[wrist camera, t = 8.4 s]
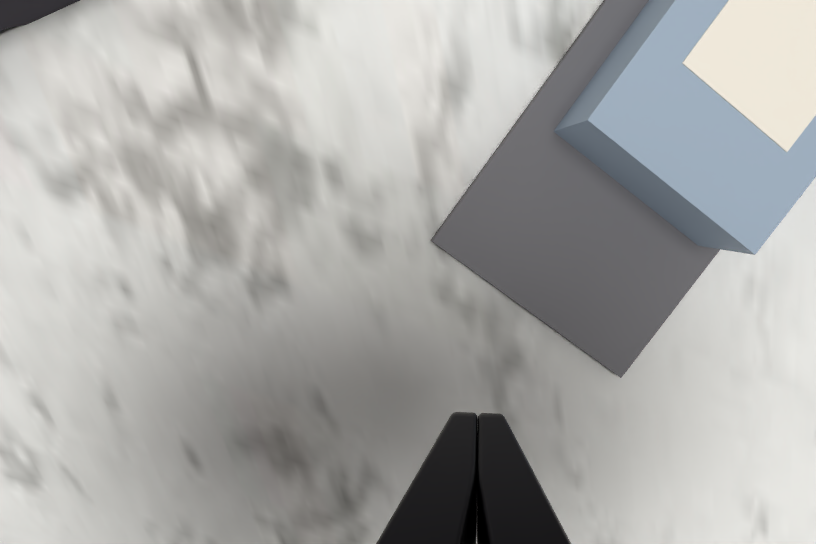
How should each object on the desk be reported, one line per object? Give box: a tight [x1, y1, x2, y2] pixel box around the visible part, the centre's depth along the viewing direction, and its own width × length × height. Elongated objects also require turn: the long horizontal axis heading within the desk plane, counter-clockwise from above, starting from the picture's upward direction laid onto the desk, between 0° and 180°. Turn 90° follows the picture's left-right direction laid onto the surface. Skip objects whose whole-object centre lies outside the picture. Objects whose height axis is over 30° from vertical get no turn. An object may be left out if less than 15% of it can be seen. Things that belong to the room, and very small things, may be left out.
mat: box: [431, 0, 720, 378], centre depth 20 cm, size 16×9×1 cm, turn 144°
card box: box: [554, 0, 816, 255], centre depth 18 cm, size 3×7×12 cm
